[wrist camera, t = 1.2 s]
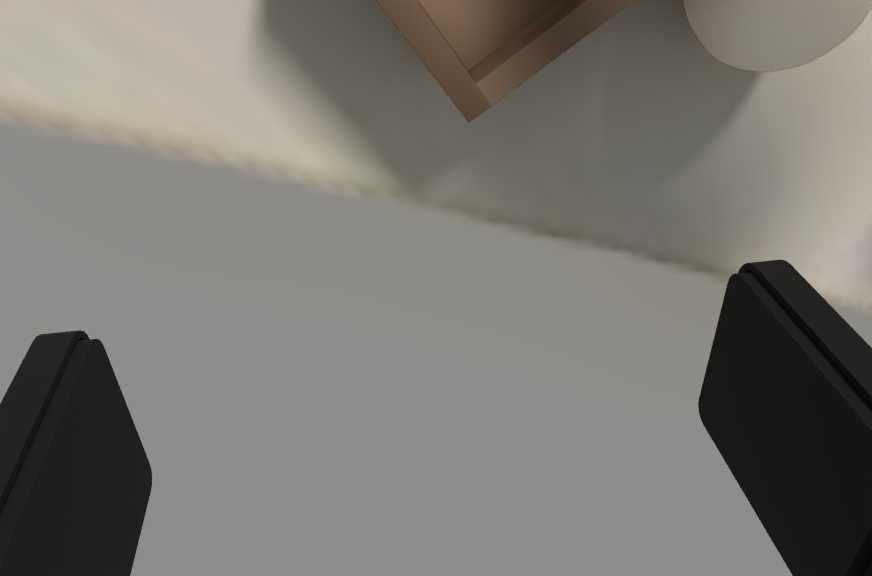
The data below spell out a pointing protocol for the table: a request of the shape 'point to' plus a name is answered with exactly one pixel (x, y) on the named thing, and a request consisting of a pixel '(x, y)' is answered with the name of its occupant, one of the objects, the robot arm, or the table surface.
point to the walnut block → (493, 40)
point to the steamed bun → (773, 29)
